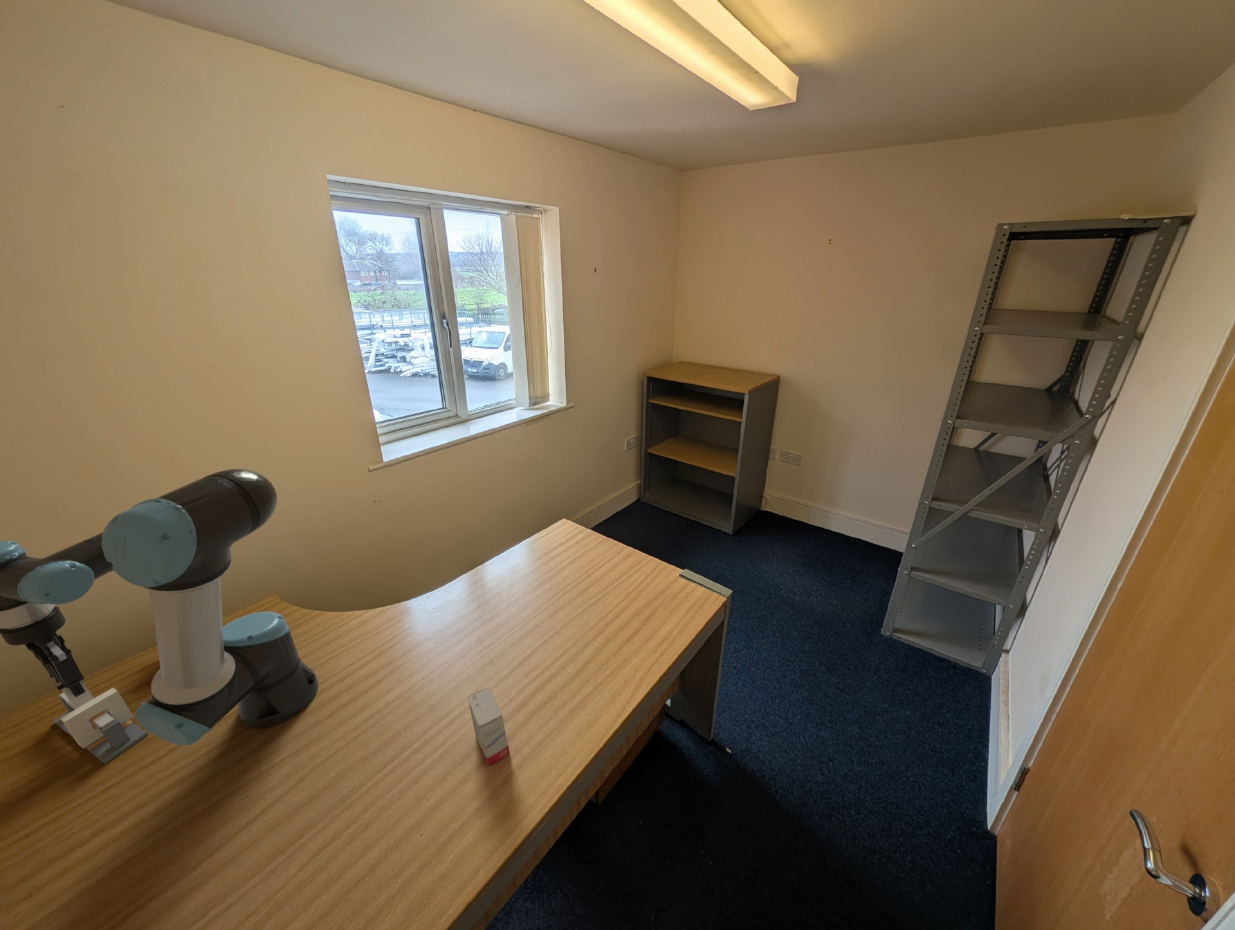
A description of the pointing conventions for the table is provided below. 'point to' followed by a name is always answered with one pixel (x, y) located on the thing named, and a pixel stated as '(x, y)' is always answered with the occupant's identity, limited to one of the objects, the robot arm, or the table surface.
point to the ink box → (488, 725)
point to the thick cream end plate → (81, 715)
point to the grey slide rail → (106, 733)
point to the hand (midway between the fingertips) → (84, 703)
